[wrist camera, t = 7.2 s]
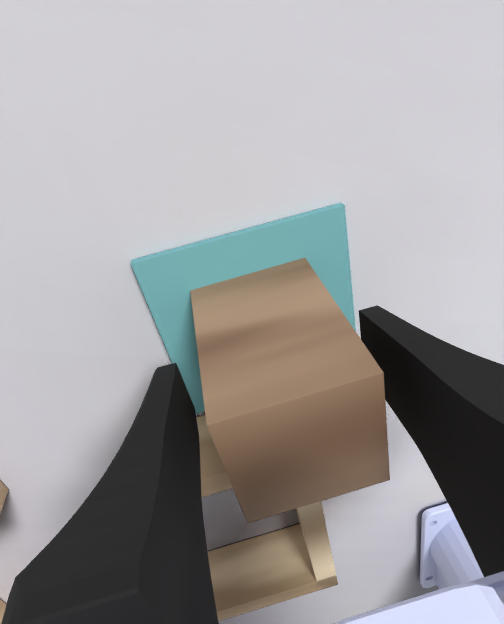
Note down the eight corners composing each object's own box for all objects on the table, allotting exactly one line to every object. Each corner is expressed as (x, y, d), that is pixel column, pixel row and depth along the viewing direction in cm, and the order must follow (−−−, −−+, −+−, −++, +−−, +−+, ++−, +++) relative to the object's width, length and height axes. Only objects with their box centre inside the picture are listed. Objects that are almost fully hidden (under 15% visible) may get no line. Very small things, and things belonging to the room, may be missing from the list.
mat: (356, 362, 18) (359, 367, 17) (193, 409, 17) (193, 414, 17) (341, 202, 14) (344, 205, 13) (131, 259, 13) (130, 263, 13)
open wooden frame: (319, 528, 24) (337, 584, 21) (5, 622, 23) (-14, 693, 21) (288, 391, 18) (309, 447, 15) (-139, 514, 17) (-190, 594, 15)
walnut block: (319, 347, 16) (390, 480, 11) (221, 376, 16) (247, 523, 11) (304, 257, 14) (383, 373, 9) (190, 290, 14) (206, 425, 9)
